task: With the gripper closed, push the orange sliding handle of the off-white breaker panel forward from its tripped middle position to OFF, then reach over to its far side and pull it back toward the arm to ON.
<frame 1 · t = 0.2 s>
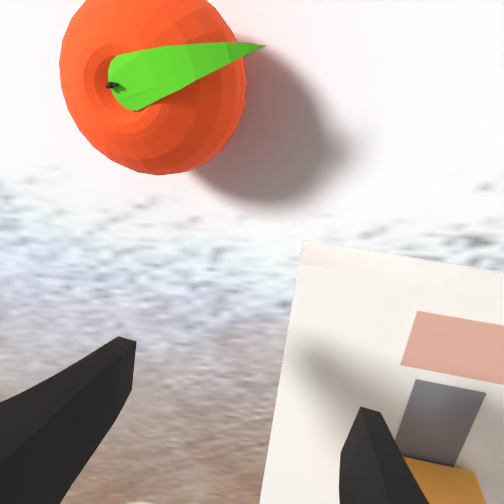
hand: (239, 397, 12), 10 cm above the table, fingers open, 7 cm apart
clementine: (198, 80, 19), on the table
breaker panel: (406, 427, 24), on the table
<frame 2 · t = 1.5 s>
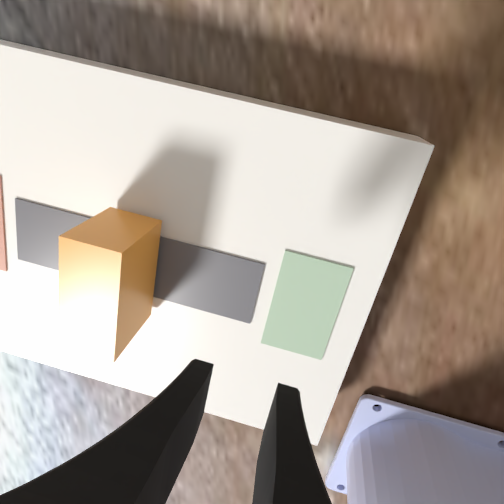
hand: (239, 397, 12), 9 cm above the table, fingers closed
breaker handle: (112, 281, 17), point 5 cm above the table, slide at 0.0 cm
breaker panel: (159, 238, 21), on the table
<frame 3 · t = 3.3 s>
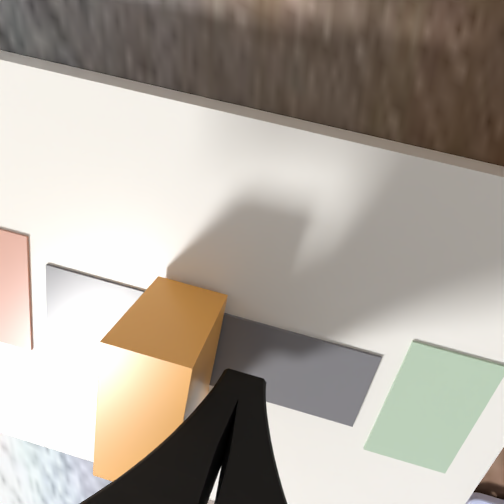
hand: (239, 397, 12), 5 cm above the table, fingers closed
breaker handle: (163, 381, 12), point 5 cm above the table, slide at 0.6 cm, touching gripper
breaker panel: (222, 303, 17), on the table
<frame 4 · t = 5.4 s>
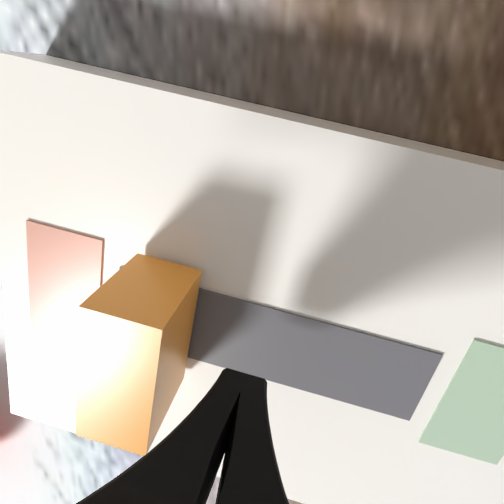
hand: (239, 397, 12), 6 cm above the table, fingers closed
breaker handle: (141, 349, 13), point 5 cm above the table, slide at 4.1 cm
breaker panel: (275, 303, 18), on the table
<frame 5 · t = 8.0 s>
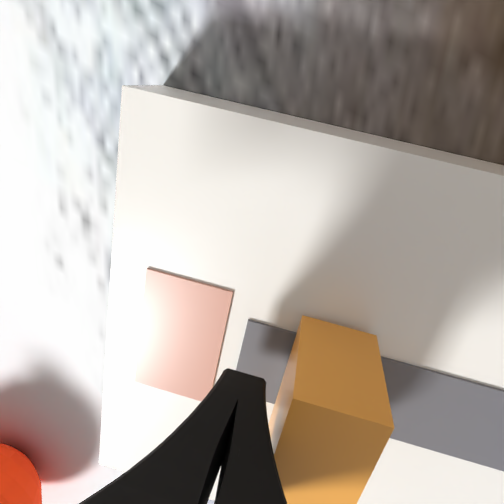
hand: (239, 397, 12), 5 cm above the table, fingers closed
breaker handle: (316, 426, 12), point 5 cm above the table, slide at 3.1 cm, touching gripper
clementine: (13, 449, 24), on the table
breaker panel: (394, 350, 16), on the table
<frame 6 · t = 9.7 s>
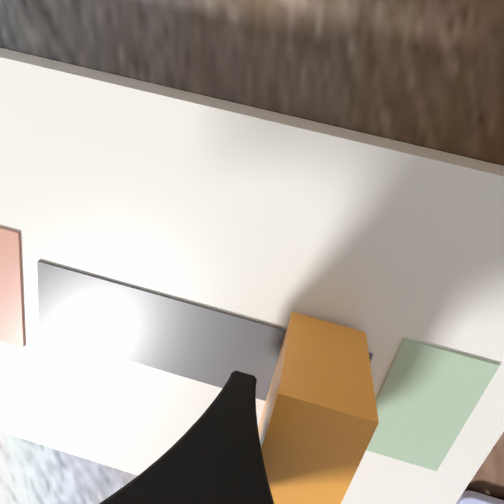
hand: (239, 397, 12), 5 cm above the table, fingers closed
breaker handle: (305, 422, 12), point 5 cm above the table, slide at -4.2 cm, touching gripper
breaker panel: (215, 300, 17), on the table
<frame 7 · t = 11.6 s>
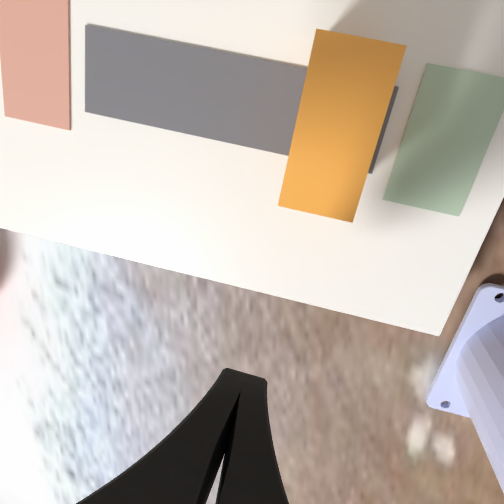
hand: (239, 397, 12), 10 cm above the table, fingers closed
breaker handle: (334, 127, 13), point 5 cm above the table, slide at -4.1 cm
breaker panel: (244, 97, 18), on the table
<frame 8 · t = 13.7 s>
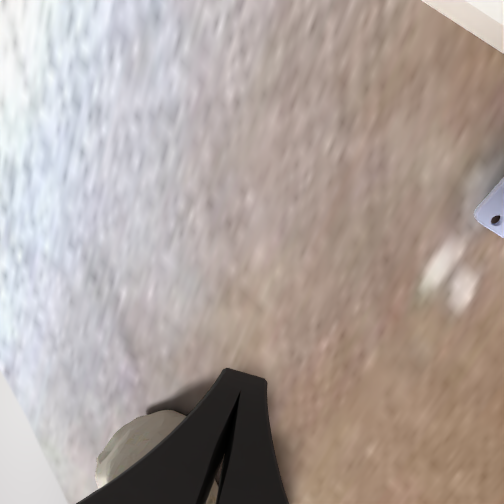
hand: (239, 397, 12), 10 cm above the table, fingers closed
ceramic sculpture: (187, 461, 30), on the table
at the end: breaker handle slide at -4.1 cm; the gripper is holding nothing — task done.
